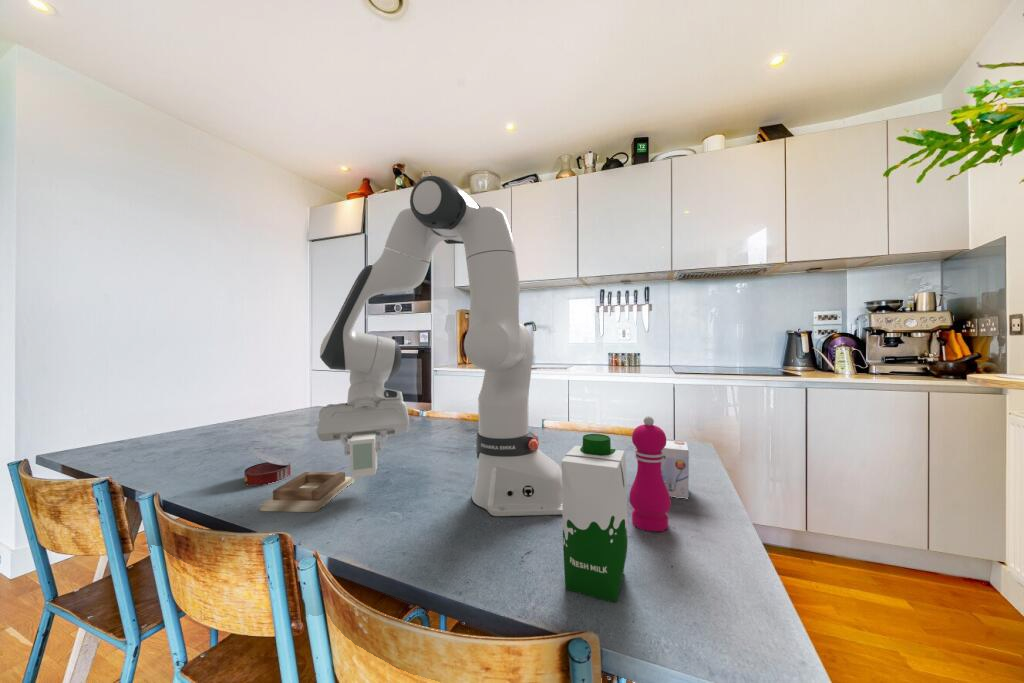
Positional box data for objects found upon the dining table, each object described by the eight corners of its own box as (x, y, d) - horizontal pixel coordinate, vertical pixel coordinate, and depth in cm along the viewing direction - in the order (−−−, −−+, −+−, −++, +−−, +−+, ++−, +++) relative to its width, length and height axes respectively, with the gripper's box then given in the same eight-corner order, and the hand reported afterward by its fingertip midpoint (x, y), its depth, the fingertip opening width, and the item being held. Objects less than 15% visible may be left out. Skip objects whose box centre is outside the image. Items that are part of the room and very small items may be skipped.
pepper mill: (651, 537, 64) (650, 422, 64) (621, 520, 70) (620, 415, 70) (679, 527, 67) (678, 417, 67) (648, 511, 74) (647, 411, 73)
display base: (354, 481, 91) (354, 468, 91) (316, 511, 75) (316, 496, 75) (307, 481, 92) (307, 468, 92) (259, 511, 76) (259, 495, 76)
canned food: (259, 492, 97) (267, 453, 102) (296, 488, 97) (303, 449, 101) (226, 487, 87) (237, 444, 92) (267, 482, 87) (276, 440, 91)
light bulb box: (637, 493, 82) (636, 445, 82) (638, 482, 89) (638, 437, 89) (690, 500, 78) (689, 449, 78) (688, 488, 85) (687, 441, 85)
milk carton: (630, 569, 55) (629, 436, 55) (622, 610, 47) (621, 453, 47) (573, 556, 59) (571, 430, 59) (556, 592, 50) (554, 446, 50)
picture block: (377, 466, 87) (376, 432, 87) (375, 475, 81) (374, 438, 81) (354, 468, 86) (353, 434, 86) (350, 478, 80) (349, 441, 80)
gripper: (318, 397, 87) (309, 450, 78) (408, 391, 93) (410, 439, 83) (322, 412, 91) (314, 464, 82) (408, 406, 97) (410, 454, 88)
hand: (363, 452), depth 83 cm, fingers closed on picture block, 5 cm apart
